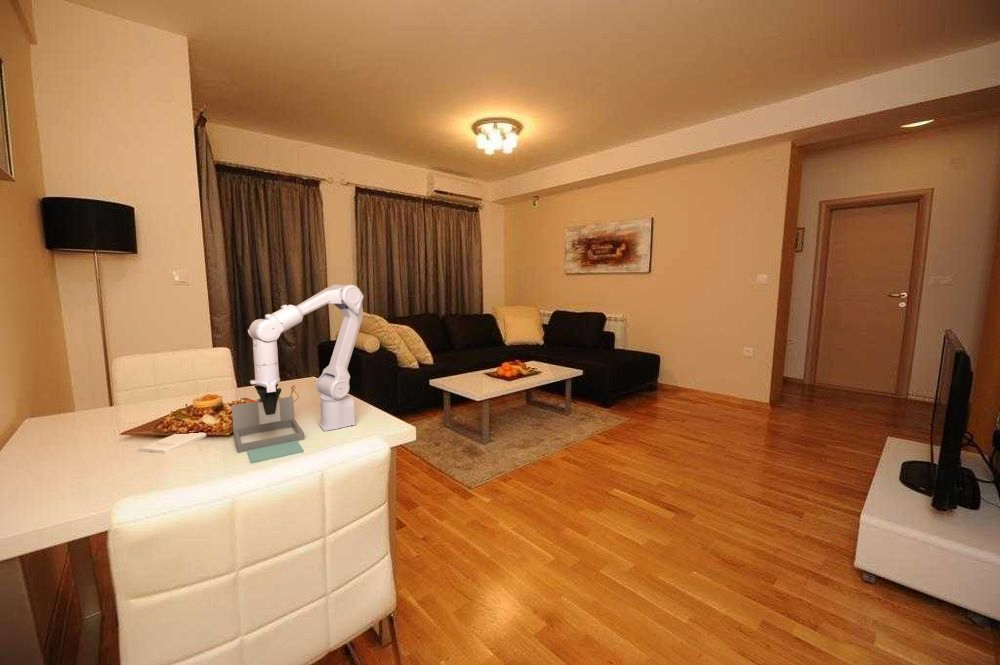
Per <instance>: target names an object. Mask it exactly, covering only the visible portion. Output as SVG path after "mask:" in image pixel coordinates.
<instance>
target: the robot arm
mask: <svg viewBox="0 0 1000 665" xmlns="http://www.w3.org/2000/svg"><path fill="white" fill-rule="evenodd" d="M363 299H364V294H363V293H362V291H361V290H360V288H359V287H358V286H357V285H355V284H354V285H353V284H348V285H346V284H338V283H337V284H332V285H331V286H328V287H325V288H323V290H320V291H319V292H318V293H316V294H314V295H312V296H311V297H309V298H308V299H306V300H304V301H302V302H301V303H299V304H297V305H293V304H288V305H287V304H283V305H281V306H280V309H278V310H275V312H272V313H271V314H270V313H267V314H265V315H264V318H259V319H256V320H253V322H251V324H250V326H249V328H248V329H247V332H248V335H249V337H250V338H252V351H253V352H252V353H253V354H252V355H253V365H254V366H253V367H254V379H251V380H250V381H249V384H251V385H254V389H256V392H257V394H258V395H259V399H262V402H263V406H264V410H265V413H266V415H271V414H275V411H276V406H277V400H278V397H279V398H280V395H281V393H282V388H281V387H279V388H278V386H279V383H280V381H281V377H280V371H279V354H278V350H279V349H278V339H279V337H280V336H281V334H283V333H285V332H286V331H288V330H290V329H291V328H294V327H295V326H297V325H298V324H300V323H302V322H303V319H304V316H305V315H308V314H310V313H312V312H314V311H316V310H318V309H320V308H322V307H324V306H326V305H329V304H333V305H334V307H336V308H337V309H338V310H339V312H340V313H341V314H342V316H343V319H342V322H341V326H340V329H339V332H338V334H337V335H338V336H337V337H336V338H337V339H336V342H335V345H334V348H333V352H332V355H331V357H330V361H329V364H328V365H327V366H326V367H325V368H323V370H322V373H321V375H320V376H319V377H318V379H317V380H316V383H315V388H316V390H317V392H318V393H319V394H320V414H321V415H320V416H321V421H319V422H317V424H318V426H319V427H320V428H321V429H322V430H323V432H326V431H332V430H333V431H334V430H336V429H337V430H338V429H342V428H347V426H348V427H352V426H351V425H353V426H356V425H357V423H356V419H355V418H356V415H355V413H356V412H355V400H354V397H353V396H352V395H350V394H348V393H349V391H350V389H351V388H350V386H351V385H350V381H351V380H350V379H351V375H350V373H349V370H348V369H349V363H350V361H351V357H352V355H353V351H354V348H355V346H356V342H357V338H358V334H359V331H360V328H361V324H362V322H363V318H364V308H363ZM355 424H356V425H355Z"/></svg>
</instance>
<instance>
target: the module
mask: <svg viewBox="0 0 1000 665" xmlns="http://www.w3.org/2000/svg"><path fill="white" fill-rule="evenodd" d="M279 398H280V397H279ZM279 398H278V400H277V406H276V411H275V414H271V415H266V413H265V410H264V406H263V402H262V399H260V398H256V401H257V413H258V421H259V424H265V423H271V422H276V421H281V420H280V403H279Z"/></svg>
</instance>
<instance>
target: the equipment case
mask: <svg viewBox="0 0 1000 665" xmlns="http://www.w3.org/2000/svg"><path fill="white" fill-rule="evenodd" d="M294 401H295V400H294V396H293V395H292V396H291V397H290V396H286V397H281V398H280V397H279V403H280V420H281V421H276V422H271V423H265V424H259V421H258V413H257V402H250V403H248V402H244V403H238V404H232V405H231V415H232V429H233V437H234V438H233V439H234V441H235V446H236V449H237V452H238V454H239V453H245V452H247V451H248V450H253V449H258V448H263V447H268V446H273V445H278V444H283V443H287V442H292V441H298V442H299V441H305V432H304V430H303V429H302V427H301V426H300V425H299V423H298V422H297V420H296V419H295V402H294ZM287 428H292V429H293V431H294V432H295V433H290V434H283V435H279V436H273V437H269V438H263V439H259V440H253V441H249V442H242V439H241V437H245V436H248V435H249V436H250V435H255V434H259V433H265V432H270V431H276V430H281V429H287Z"/></svg>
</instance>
